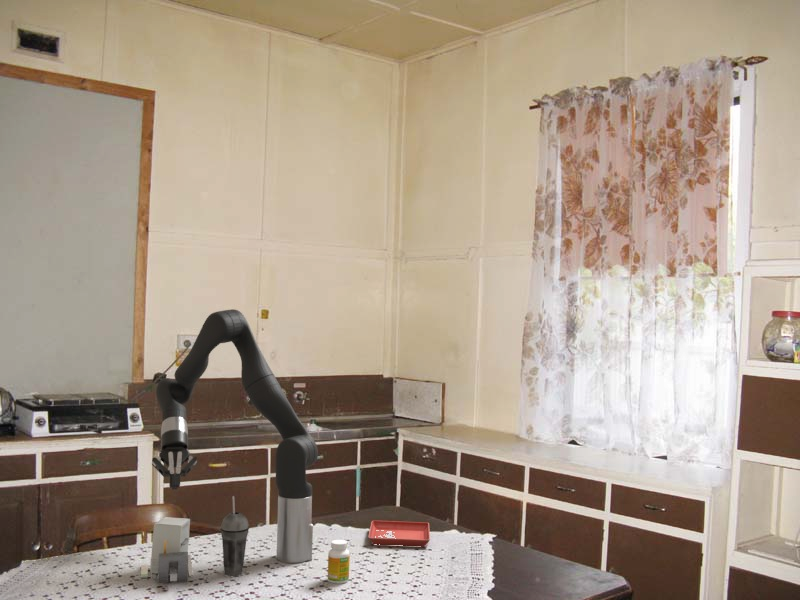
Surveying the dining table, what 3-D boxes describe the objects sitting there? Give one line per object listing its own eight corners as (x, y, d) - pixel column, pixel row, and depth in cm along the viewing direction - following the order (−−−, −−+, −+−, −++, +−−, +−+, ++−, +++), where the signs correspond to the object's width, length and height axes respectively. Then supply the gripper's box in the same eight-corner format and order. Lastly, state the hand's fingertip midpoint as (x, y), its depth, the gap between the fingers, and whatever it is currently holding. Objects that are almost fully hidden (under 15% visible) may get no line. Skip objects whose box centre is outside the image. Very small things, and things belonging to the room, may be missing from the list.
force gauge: (190, 555, 211) (191, 532, 211) (193, 581, 191) (194, 555, 191) (141, 559, 207) (142, 535, 207) (140, 585, 187) (141, 558, 188)
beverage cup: (253, 571, 200) (255, 493, 200) (238, 579, 193) (240, 499, 193) (228, 567, 202) (231, 490, 202) (213, 576, 195) (215, 496, 196)
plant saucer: (429, 550, 223) (430, 539, 223) (367, 548, 223) (368, 536, 223) (428, 533, 241) (429, 522, 241) (371, 531, 241) (371, 520, 241)
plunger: (182, 572, 195) (183, 539, 195) (184, 586, 185) (185, 551, 185) (162, 574, 193) (163, 540, 194) (162, 587, 184) (163, 552, 184)
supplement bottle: (340, 585, 191) (341, 546, 191) (323, 581, 194) (324, 542, 194) (353, 579, 195) (354, 541, 196) (336, 575, 198) (337, 537, 198)
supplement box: (177, 575, 194) (181, 525, 195) (149, 573, 195) (152, 523, 195) (187, 566, 202) (191, 518, 202) (160, 564, 202) (163, 516, 203)
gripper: (151, 428, 220) (150, 481, 209) (199, 428, 225) (200, 480, 213) (150, 443, 225) (149, 496, 214) (196, 443, 230) (198, 494, 218)
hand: (174, 488), depth 213 cm, fingers closed
